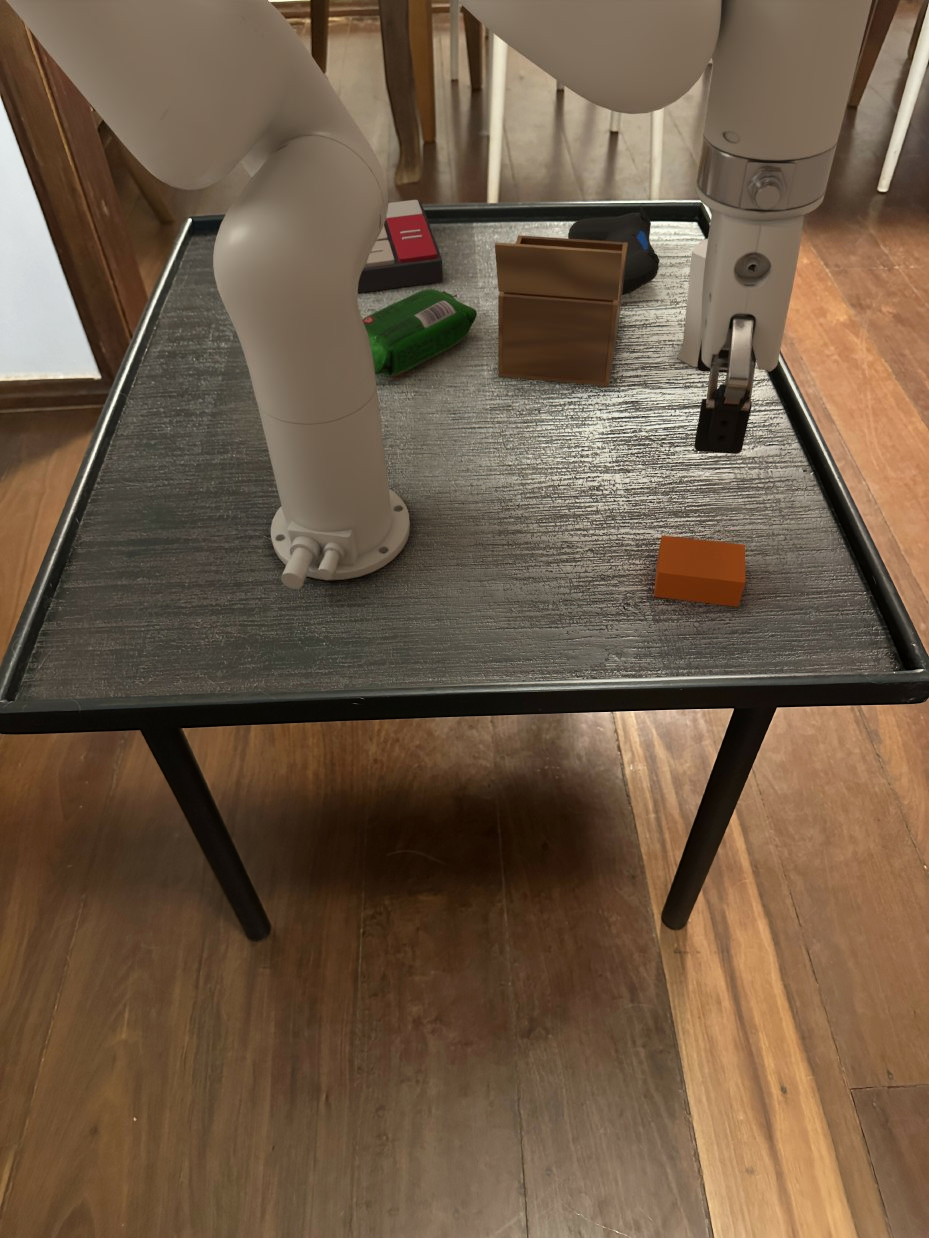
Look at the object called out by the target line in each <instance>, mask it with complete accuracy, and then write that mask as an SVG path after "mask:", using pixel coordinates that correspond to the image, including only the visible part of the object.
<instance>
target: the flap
mask: <svg viewBox="0 0 929 1238" xmlns="http://www.w3.org/2000/svg"><path fill="white" fill-rule="evenodd" d="M494 253H495V255H494V256H495V265H496V275H497V276H496V277H497V291H498V292H499V293H500V292H511V293H524V294H537V295H550V296H564V297H577V298H590V299H603V300H616V301H618V293H619V283H620V272H621V261H622V251H615V250H600V249H585V248H571V247H556V246H541V245H527V244H516V243H513V242H512V243H511V242H494Z"/></svg>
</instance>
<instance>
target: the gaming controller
mask: <svg viewBox="0 0 929 1238" xmlns="http://www.w3.org/2000/svg"><path fill="white" fill-rule="evenodd" d="M639 210H640V211H639V212H629V213H626V214H622V215H618V216H606V217H589V218H583V219H578V220H576V221H575V222H573V223H572V225H571V226H570V227H569V230H568V234H567V239H581V240H596V241H611V242H623V243H624V242H626V243H628V247H627V256H626V265H625V274H624V283H623V292H622V296H625V295H628V294H631V293H633V292H635V291H637V290H638V289H640V288H641V287H643V286H645V285H648V284H649V283H650V282H652V281H653V280H654V279H655V278H656V276H657V275H658V272H659V268H660V267H659V265H660V257H659V255H658V254H657V253H656V252H655V248H654V247H653V246H652V245H651V242H650V241H651V240H650V235H651V225H652V222H651V220H650V217H648V216H647V212H646V211H645V210H644V208H643V206H642V205H639Z"/></svg>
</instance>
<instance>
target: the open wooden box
mask: <svg viewBox="0 0 929 1238" xmlns="http://www.w3.org/2000/svg"><path fill="white" fill-rule="evenodd" d="M515 244H527V245H541V246H556V247H571V248H585V249H600V250H615V251H622V261H621V272H620V283H619V293H618V301H616V300H603V299H590V298H577V297H564V296H550V295H537V294H524V293H511V292H499V293H498V296H497V316H498V317H497V318H498V319H497V323H498V324H497V376H498V377H500V378H510V379H511V378H512V379H520V380H521V379H522V380H533V381H544V382H554V383H564V384H565V383H566V384H577V385H589V386H599V387H600V386H601V387H610V384H611V376H612V370H613V364H614V357H615V350H616V345H617V338H618V332H619V326H620V318H621V310H622V300H623V295H622V292H623V283H624V274H625V265H626V256H627V247H628V243H626V242H624V243H623V242H611V241H596V240H581V239H568V238H566V237H565V238H564V237H552V236H551V237H550V236H535V235H520V234H518V235H517V237H516V241H515Z"/></svg>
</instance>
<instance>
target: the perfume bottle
mask: <svg viewBox="0 0 929 1238" xmlns="http://www.w3.org/2000/svg"><path fill="white" fill-rule="evenodd" d="M710 223H711V221H710V222H709V223H708V224H709V226H710ZM708 237H709V235H708V236H707V238H704V239H701V240H700V241H699V242H698V243H697V244H696V245H695V247H694V248H693V249H692V250H691V255H690V265H689V276H688V287H687V298H686V307H685V308H686V309H685V319H684V320H685V321H684V329H683V339H682V345H681V346H682V347H681V348H680V350H679V352H678V355H677V357H676V358H677V359H678V360H680V361H682V362H683V363H685V364H687V365H688V366H690V367H693V368H697V365H698V357H699V351H700V345H701V339H702V336H701V314H702V291H703V278H704V268H705V259H706V251H707V244H708Z"/></svg>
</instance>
